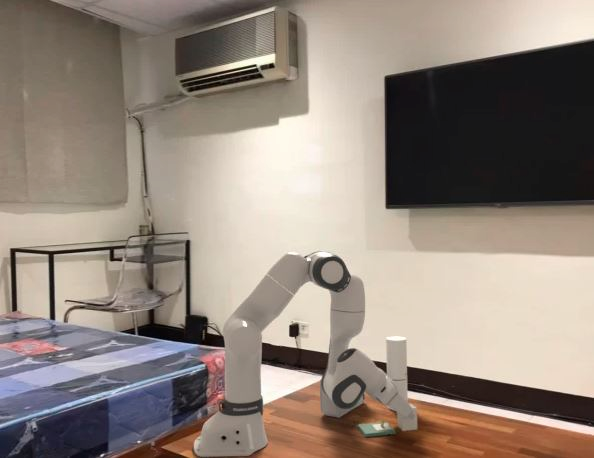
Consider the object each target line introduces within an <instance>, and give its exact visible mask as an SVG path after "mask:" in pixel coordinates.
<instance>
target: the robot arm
mask: <svg viewBox="0 0 594 458" xmlns="http://www.w3.org/2000/svg"><path fill="white" fill-rule="evenodd" d="M274 263H275V264H273V265H272V266H271V268H269V270H268V271H267V273H266V274H265V275H264V277H263V278H261V280H260V281H259V283H258V284H257V285H256V287H254V290H253V291H252V292H251V293H250V294H249V295H248V297H247V298H245V299H244V300H243V302H242V303H241V304H240V305H239V306H238V307H237V308H236V309H235V310H234V311H233V313H232V314H231V315H230V316H229V318H228V319H227V320H226V321H225V323H224V325H223V328H222V335H223V341H224V392H225V393H224V395H225V396H224V397H222V396H218V397H217V398H216V404H217V405H218V411H217V412H216V413H215V414H214V415H212V416H211V417H209V419H207V420H206V421H205V422H204V424H203V425H202V428H201V431H200V435H199V436H198V437H197V438H195V440H194V443H193V452H194V454H195V455H196V456H197V457H201V458H202V457H203V458H204V457H205V458H206V457H207V458H209V457H211V458H213V457H247V456H250V455H253V453H255V452H256V451H259V450H261V449H263V448H264V447H266V446H267V445H268V442H269V440H268V438H267V434H266V431H265V424H264V420H263V419H264V418H263V417H264V397H263V395H262V354H263V353H262V352H263V349H262V348H263V334H262V333H263V331H265V329H266V328H268V326H269V325H270V324H271V323H272V322H273V321H275V319H277V318H278V317H279V316H280V315H281V314H282V312H283V311H284V310H285V308H286V307H287V306H288V305H289V304H290V302H291V301H292V299H293V298H294V297H295V295H296V294H297V292H299V290H300V288H302V287H303V286H304V285H305V284H306V283H309V282H310V283H313V284H314V285H315V286H317V287H319V288H322V289H326V290H328V291H329V294H330V311H329V315H330V316H329V324H330V337H329V347H328V355H327V364H326V367H325V370H324V372H323V373H322V377H321V379H320V380H321V388H322V390H323V392H324V393H325V394H326V395H327V396H328V397H329V398H330V399H331V400H332V401H333V403H334V404H335V405H336V406H337V407H339V408H341V409H349V408H352V407H353V406H355V405H356V404H357V402H358V401H359V400H360V398H361V397H362V395H363V393H364V391H365V394H367V395H368V396H369V397H370V398H371V399H372V400H373V401H374V402H379V403H381V404H382V405H384V406H387V407H388V406H389V407H391V408H392V409H393V410H392V411H394V410H395V412H396V414H397V413H399V414H400V415H401V416H403V417H404V418H408V417H409V418H410V419H411V420H412V419H413V418H414V417H415V415H414V414H413V413H412V412H413V409H412V407H411V406H410V405H409V404H410V403H409V402H407V401H406V400H405V399H404V398H403V397H402V395H401V394H400V393H399V392H398V389H397V387H396V386H395V385H394V383H393V380H392V379H391V378H390V377H389V376H388V375H387V372H385V371H384V370H383V369H381V368H380V367H377V365H376V364H375V362H374V361H373V360H372V359H371V358H370V357H369V356H368V355H366V354H365V352H363V351H361V350H360V349H358V348H354V347H352V348H349V345H350V342H351V341H352V340H353V339H354V338H355V337H357V336H359V335H360V333H362V331H363V328H364V324H365V317H366V293H365V285H364V282H363V280H362V279H361V278H360V277H358V276H357V275H356V274H355V275H354V274H350V270H349V269H348V266H347V265H346V263H345V261H344V260H343V258H341V257H340V256H339V255H337V254H334V253H332V252H330V251H320V250H319V251H315V252H311V253H310V254H308V255H305V256H303V255H301V254H300V253H297V252H292V251H289V252H287V253H285V254H284V255H282V256H281V257H280V258H279V259H278V260H277V261H276V262H274Z"/></svg>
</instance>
